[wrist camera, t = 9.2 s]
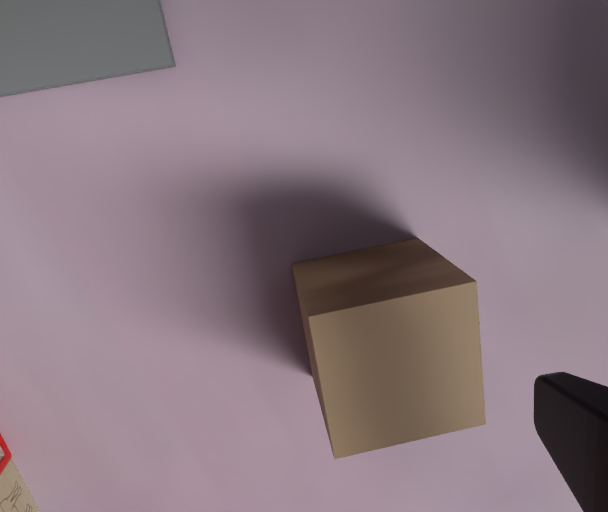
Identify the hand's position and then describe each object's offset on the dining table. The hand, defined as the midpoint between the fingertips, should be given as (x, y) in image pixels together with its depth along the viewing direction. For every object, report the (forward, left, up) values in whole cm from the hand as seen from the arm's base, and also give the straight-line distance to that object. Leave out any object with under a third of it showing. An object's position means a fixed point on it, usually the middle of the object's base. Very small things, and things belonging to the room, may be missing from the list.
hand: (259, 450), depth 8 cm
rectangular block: (-4, +3, -11) cm, 12 cm away
